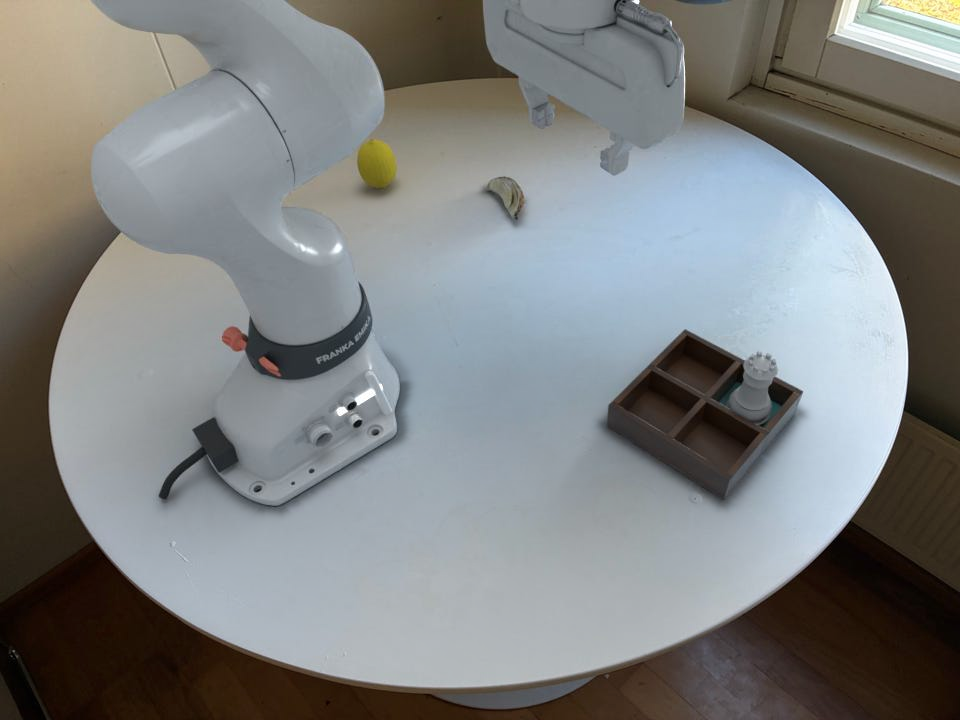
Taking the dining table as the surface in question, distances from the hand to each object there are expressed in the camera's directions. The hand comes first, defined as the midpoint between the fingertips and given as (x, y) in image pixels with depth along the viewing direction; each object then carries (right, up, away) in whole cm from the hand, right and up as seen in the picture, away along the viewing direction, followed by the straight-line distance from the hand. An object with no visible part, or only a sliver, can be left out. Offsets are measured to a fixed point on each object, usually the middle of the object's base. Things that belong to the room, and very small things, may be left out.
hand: (576, 145), depth 66 cm
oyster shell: (-4, +3, +43) cm, 43 cm away
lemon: (-23, +7, +48) cm, 54 cm away
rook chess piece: (+20, -24, +15) cm, 34 cm away
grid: (+15, -25, +15) cm, 33 cm away
